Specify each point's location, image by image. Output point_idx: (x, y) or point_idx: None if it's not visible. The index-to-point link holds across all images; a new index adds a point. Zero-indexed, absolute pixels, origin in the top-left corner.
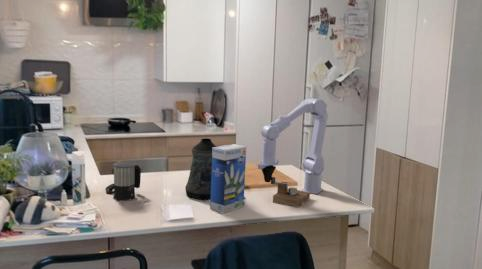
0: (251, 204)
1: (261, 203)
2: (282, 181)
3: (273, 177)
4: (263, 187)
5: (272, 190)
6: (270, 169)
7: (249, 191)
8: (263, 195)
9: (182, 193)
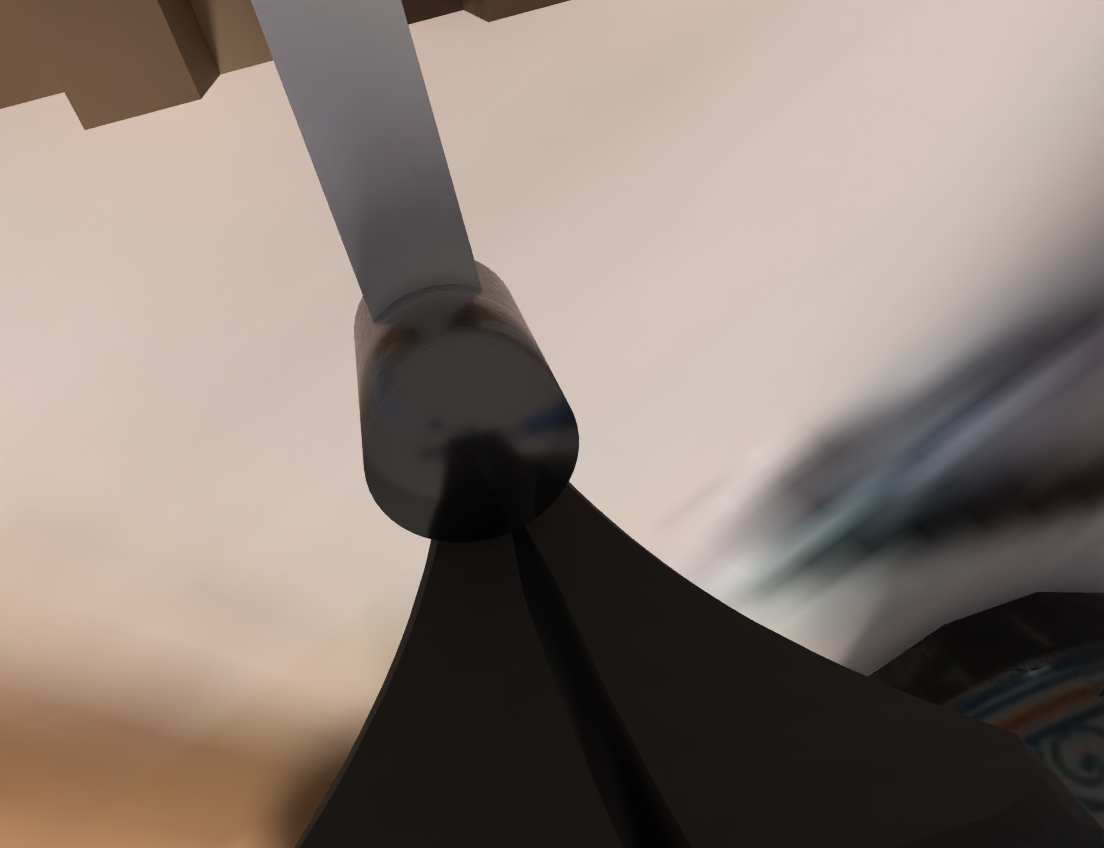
0: (1075, 147)
1: (942, 47)
2: (64, 77)
3: (473, 446)
4: (57, 697)
5: (10, 499)
6: (1061, 793)
7: None
8: None
9: None
